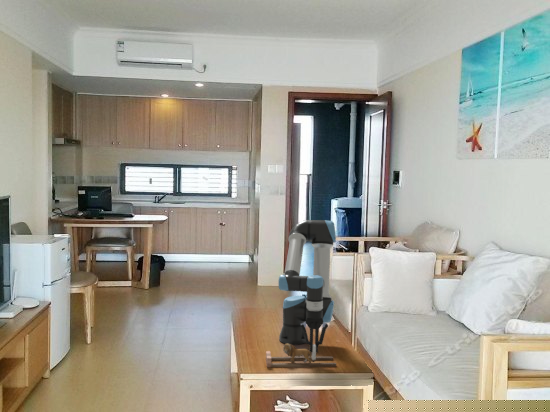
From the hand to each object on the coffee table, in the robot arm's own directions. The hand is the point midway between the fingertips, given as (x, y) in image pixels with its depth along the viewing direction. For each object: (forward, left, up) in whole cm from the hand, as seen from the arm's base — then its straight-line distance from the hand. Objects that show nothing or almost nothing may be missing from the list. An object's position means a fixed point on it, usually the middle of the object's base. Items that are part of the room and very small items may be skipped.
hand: (313, 358), depth 250 cm
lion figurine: (0, -8, -2) cm, 8 cm away
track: (0, -5, -2) cm, 6 cm away
